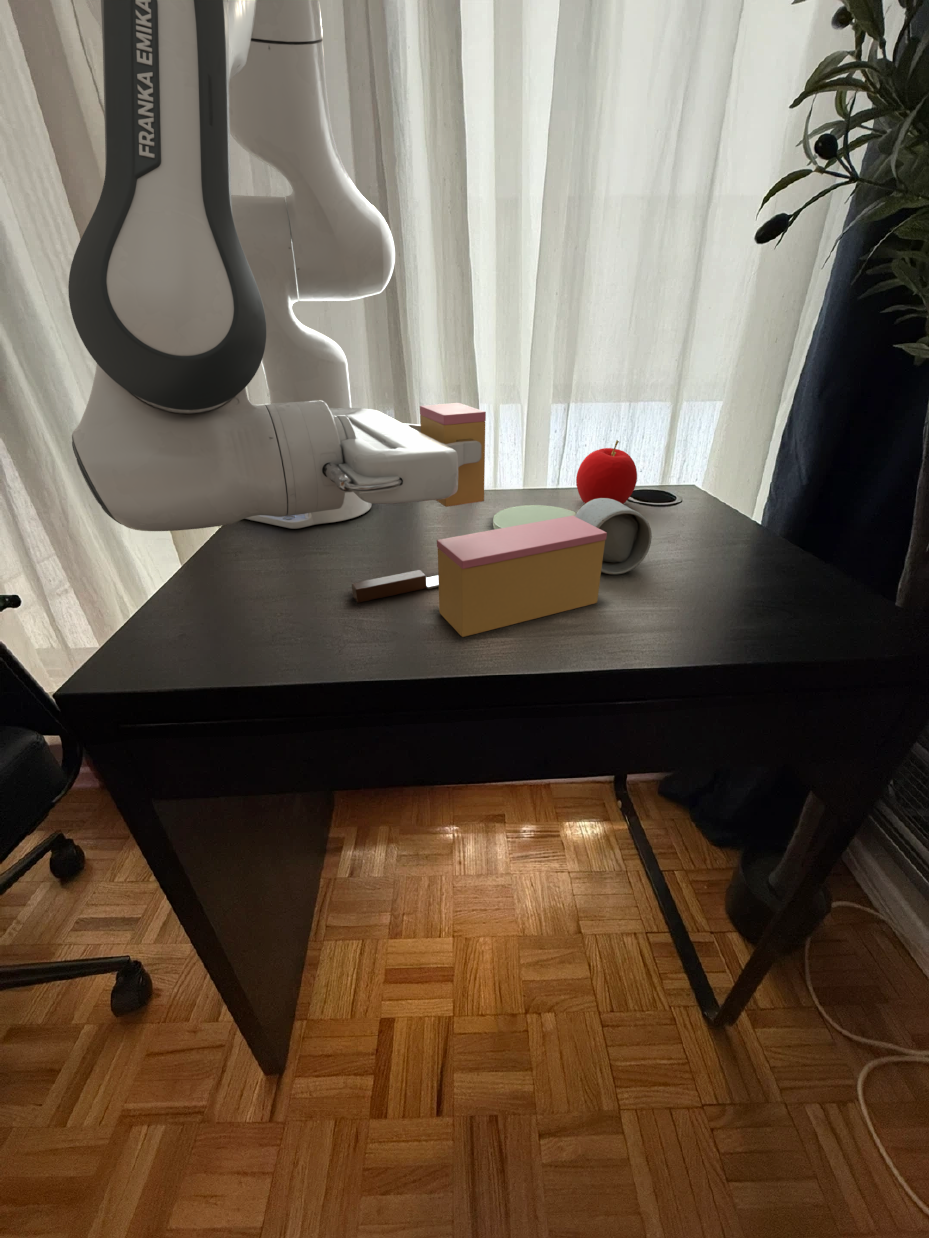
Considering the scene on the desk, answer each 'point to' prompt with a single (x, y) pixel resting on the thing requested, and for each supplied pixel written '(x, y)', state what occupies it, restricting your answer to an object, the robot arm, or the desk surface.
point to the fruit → (606, 475)
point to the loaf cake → (518, 573)
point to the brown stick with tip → (392, 585)
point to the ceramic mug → (618, 533)
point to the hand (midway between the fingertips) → (460, 441)
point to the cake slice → (447, 428)
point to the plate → (528, 515)
